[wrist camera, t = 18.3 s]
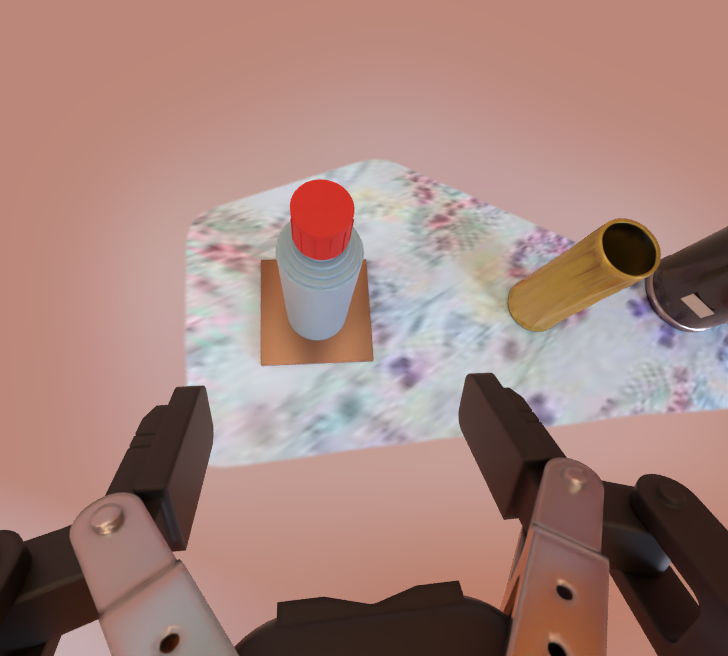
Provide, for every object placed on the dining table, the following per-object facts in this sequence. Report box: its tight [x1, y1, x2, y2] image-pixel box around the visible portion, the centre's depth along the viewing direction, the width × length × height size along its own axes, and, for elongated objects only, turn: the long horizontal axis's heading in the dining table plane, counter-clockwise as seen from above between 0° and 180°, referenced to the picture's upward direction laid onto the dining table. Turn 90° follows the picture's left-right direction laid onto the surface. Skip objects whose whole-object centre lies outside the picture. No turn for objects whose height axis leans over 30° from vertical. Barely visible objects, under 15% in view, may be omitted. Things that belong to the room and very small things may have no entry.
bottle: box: [276, 221, 363, 340], centre depth 32 cm, size 6×6×19 cm
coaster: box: [261, 259, 373, 366], centre depth 41 cm, size 11×11×1 cm
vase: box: [508, 219, 661, 332], centre depth 38 cm, size 6×6×14 cm
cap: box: [290, 180, 354, 260], centre depth 24 cm, size 4×4×3 cm
